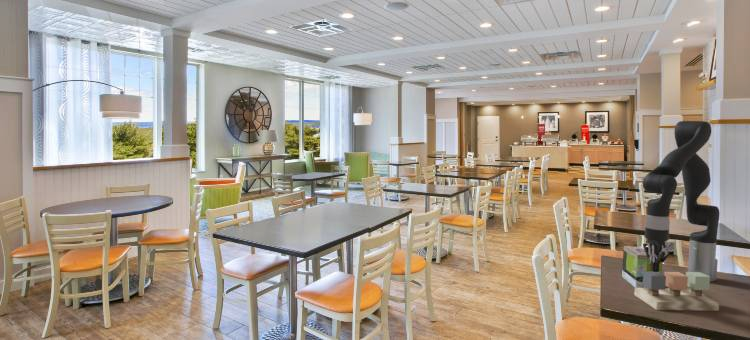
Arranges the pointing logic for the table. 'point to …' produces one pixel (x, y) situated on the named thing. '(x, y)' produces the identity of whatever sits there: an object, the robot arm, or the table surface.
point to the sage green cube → (698, 281)
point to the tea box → (636, 265)
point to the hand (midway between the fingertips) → (654, 271)
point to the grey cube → (654, 280)
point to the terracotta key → (676, 280)
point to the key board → (676, 299)
